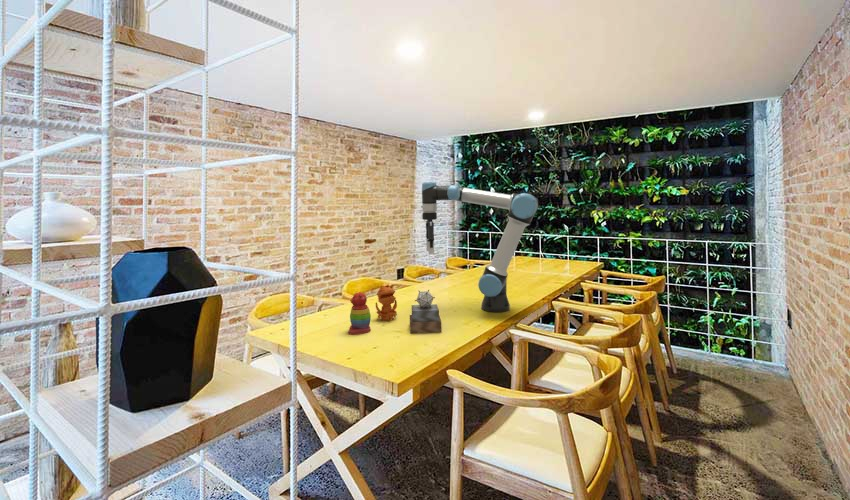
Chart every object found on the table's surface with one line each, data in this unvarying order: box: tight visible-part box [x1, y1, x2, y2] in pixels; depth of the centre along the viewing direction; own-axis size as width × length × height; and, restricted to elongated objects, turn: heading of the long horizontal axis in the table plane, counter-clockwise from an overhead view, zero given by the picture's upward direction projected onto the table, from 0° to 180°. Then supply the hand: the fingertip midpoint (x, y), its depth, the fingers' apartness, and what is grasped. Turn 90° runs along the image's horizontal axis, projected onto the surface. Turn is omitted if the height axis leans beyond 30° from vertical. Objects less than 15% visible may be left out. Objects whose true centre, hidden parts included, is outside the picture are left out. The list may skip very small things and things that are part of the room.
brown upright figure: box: [375, 284, 398, 322], centre depth 217 cm, size 11×11×18 cm
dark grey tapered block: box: [409, 303, 442, 334], centre depth 201 cm, size 14×13×10 cm
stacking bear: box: [347, 291, 372, 336], centre depth 199 cm, size 11×10×18 cm
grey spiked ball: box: [414, 289, 436, 308], centre depth 200 cm, size 9×8×10 cm
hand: (430, 252), depth 229 cm, fingers open, 13 cm apart
